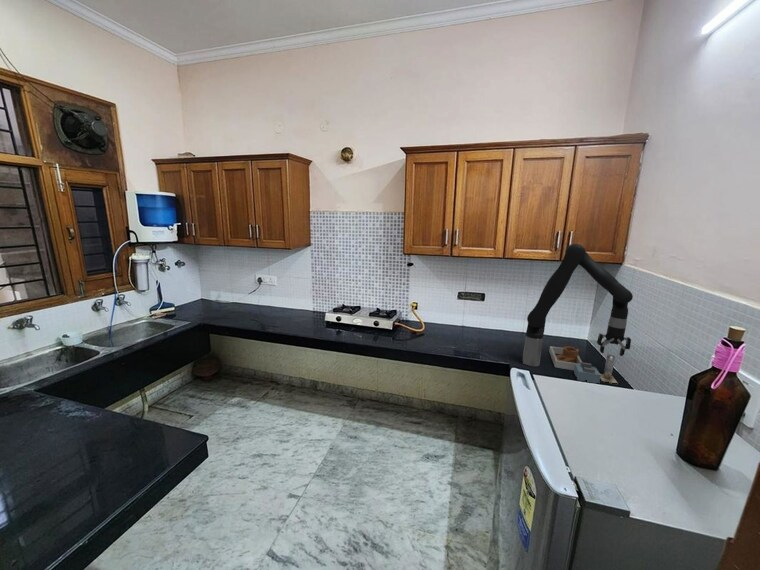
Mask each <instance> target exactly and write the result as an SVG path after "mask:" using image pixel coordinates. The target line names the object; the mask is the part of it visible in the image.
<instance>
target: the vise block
mask: <svg viewBox="0 0 760 570" xmlns="http://www.w3.org/2000/svg"><path fill="white" fill-rule="evenodd" d="M573 373H574V375H575V377H577V378H576V380H577V381H580V382H586V381H585V380H587V383H594V384H597V383H599V384H600V382H601V379H600V377H601V375H600V374H601V373H600V371H599V370H598V369H597V367H596V366H593V365H592V363H590V362H583V361H582V362H581V365H578V364H575V367H574V370H573Z"/></svg>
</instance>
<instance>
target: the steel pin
mask: <svg viewBox="0 0 760 570" xmlns="http://www.w3.org/2000/svg"><path fill="white" fill-rule="evenodd" d="M615 359H616V356H615V355H614V354H610V353H609V354H606V359H605V364H604V365H605V366H604V370H603V374H604V375H603V378H605V379H608V380H611V377H612V376H613V370H614V366H615Z"/></svg>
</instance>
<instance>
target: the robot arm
mask: <svg viewBox="0 0 760 570" xmlns="http://www.w3.org/2000/svg"><path fill="white" fill-rule="evenodd" d="M578 266H580V267H582V268H583V270H585V271H586V272H587V273H588V275H590V277H591V278H592V279H593V280H595V282H596V283H597V284H599V285H600V286H601V287H602V288H603V289H604V290H606V291H607V292H608V293H609V294H610V296H612V302H611V303H612V305H611V306H612V308H611V312H610V316H609V318H608V322H607V323H608V324H607V330H606V334H603V333H599V334H598V338H597V340H596V343H597V345H598V346H600V347H599V352H600V353H601V354H604V352H605V346H607V345H609V344H612V345H619V346H620V349H619V354H618V355H619V356H620V357H623V356H624V355H625V351H626V350H630V349H631V343H632V339H631V338H630V337H629V336H627V337H625V332H626V329H627V325H628V324H627V322H628V316H629V307H628V305H629V303H630V302H631V301H632V300H633V299H634V298H633V297H634V296H633V293H632V292H631V291H630V290H629V289H628V288H626V287H625V286H624V285H623V284H622V283H620V282H619V281H618V279H616V278H615V277H614V276H613V275H612V274H611V273H610V271H609V272H608V270H606V269H605V268H604V267H602V266H601V265H600V264H598V263H597V262H596V261H595V260H594V258H592V257H591V256H590V255H589V254H588V252H587V251H586V248H585V247H584V246H583V245H582V244H579V243H571V244H569V245H568V246H567V247H566V248H565V254H564V256H563V258H562V260H561V263H560V264H559V266H558V267H557V268H556V270H555V271H554V272H553V273H552V275H551V276H550V278H549V279H548V280H547V282H546V284H545V286H544V287H543V289H542V292H541V293H540V296H539V299H538V301H537V303H536V304H535V306H534V307H533V308H532V310H531V311H530V312H529V313H528V314H527V316H526V317H527V320H526V321H527V327H526V331H525V339H524V340H525V341H524V345H523V350H522V351H523V352H522V364H523V365H527V366H530V367H539V366H540V363H541V355H542V348H543V340H544V334H545V328H546V322H547V320H546V319H547V316H548V314H549V312H550V310H551V309H552V308H553V306H554V305H555V304H556V302H557V301H558V300H559V298H560V297H561V295H562V294H563V292H564V291H565V289H566V288H567V286H568V284H569V282H570V279H571V277H572V276H573V273H574V272H575V271H576V269H577V267H578ZM604 338H605V339H604ZM603 339H604V340H603ZM624 341H625V345H624V343H623V342H624Z"/></svg>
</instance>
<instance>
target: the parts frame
mask: <svg viewBox="0 0 760 570" xmlns="http://www.w3.org/2000/svg"><path fill="white" fill-rule="evenodd" d="M548 351H549V355H550V357H551V361H552V363H553V367H554V368H555V369H556V368H558V369H562V370H563V369H564V370H569V371H574V367H575V364H578V365H581V362H583V361H582V359H581V357H580V356H579V355H578V356H577V359H576V362H575V363H571V362H564V361H558V360H557V357H556V356H557V355H560V354H563V347H559V346H551V345H550V346H549V350H548ZM556 354H557V355H556Z"/></svg>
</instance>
